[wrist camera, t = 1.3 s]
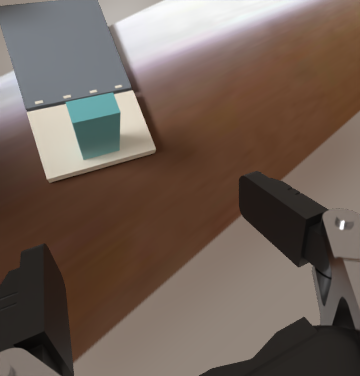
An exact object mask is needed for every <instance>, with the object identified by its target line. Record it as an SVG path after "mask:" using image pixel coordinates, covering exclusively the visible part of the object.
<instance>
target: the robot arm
mask: <svg viewBox="0 0 360 376" xmlns="http://www.w3.org/2000/svg"><path fill="white" fill-rule="evenodd" d="M239 208H240V211H241V214H242V215H243V217H244V218H245V219H246V220H247V221H248V222H249V223H250V224H251V225H252V226H253V227H255V228H256V229H257V230H258V231H259V232H260V233H261V234H263V236H264V237H266V238H267V239H268V240H269V241H270V242H271V243H272V244H273V245H274V246H275V247H277V248H278V249H279V250H280V251H281V252H282V253H283V254H284V255H285V256H286V257H288V258H289V259H290V260H291V261H292V262H293V263H294V264H295V265H296V266H297V267H301V266H303V265H305V264H307V263H311V264H312V265H313V267H312V274H313V279H314V285H315V290H316V295H317V300H318V305H319V310H320V325H317V326H312V325H311V324H310V323H309V322H308V320H307V319H306V318H305V317H303V318H301V319H299V320H298V321H296V322H294V323H293V324H290V325H289V326H287V327H285V328H283V329H282V330H280V331H278V332H277V333H276V334H275V335H274V336H273V337H272V338H271V339H270V340H269V341H268V342H267V343H266V344H265V345H264V347H263V348H262V349H261V350H260V351H259V352H258V353H257V354H256V355H255V356H254V357H253V358H252V359H250V360H246V361H242V362H238V363H233V364H229V365H224V366H220V367H216V368H212V369H210V370H208V371H207V372H205V373H203V374H201V375H199V376H360V214H359V213H356V212H354V211H351V210H348V209H340V208H338V209H331V210H328V209H327V208H325V207H323V206H322V205H320V204H318V203H317V202H315V201H313V200H312V199H310V198H309V197H307V196H305V195H304V194H302V193H301V194H300V192H299V191H297V190H296V189H293V188H292V187H291V186H289V185H288V184H286V183H284V182H283V181H279V180H276V179H273V178H268V177H267V176H265V175H264V174H262V173H261V172H259V171H255V172H252V173H249V174H246V175H243V176H241V177H240V179H239ZM0 376H74V371H73V360H72V350H71V340H70V330H69V319H68V309H67V299H66V289H65V284H64V280H63V277H62V275H61V272H60V270H59V268H58V266H57V264H56V262H55V260H54V258H53V256H52V254H51V252H50V250H49V248H48V247H47V245H46V244H45V243H44V244H41V245H38V246H36V247H33V248H30V249H27V250H24V251H22V252H21V259H20V268H17V269H14V270H11V271H9V272H8V274H7V276H6V277H5V279H4V280H3V282H2V284H1V285H0Z"/></svg>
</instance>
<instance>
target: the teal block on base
mask: <svg viewBox="0 0 360 376" xmlns="http://www.w3.org/2000/svg"><path fill="white" fill-rule="evenodd" d="M65 103H66V104H64V105H59V106H54V107H49V108H44V109H39V110H34V111H30V112H27V115H28V118H29V122H30V125H31V128H32V131H33V135H34V138H35V141H36V145H37V148H38V151H39V155H40V158H41V161H42V165H43V168H44V171H45V174H46V178H47V180H48V181H49V183H51V182H54V181H58V180H61V179H65V178H68V177H72V176H75V175H79V174H82V173H86V172H90V171H93V170H97V169H100V168H104V167H107V166H111V165H114V164H118V163H122V162H125V161H129V160H132V159H136V158H139V157H143V156H146V155H150V154H153V153H155V151H156V148H155V145H154V143H153V140H152V138H151V135H150V132H149V130H148V127H147V125H146V122H145V120H144V117H143V115H142V112H141V109H140V107H139V104H138V102H137V99H136V97H135V94H134V92H133V90H132V91H127V92H122V93H117V94H114V93H108V94H103V95H98V96H93V97H88V98H83V99H78V100H73V101H68V102H65Z"/></svg>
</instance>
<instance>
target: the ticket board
mask: <svg viewBox="0 0 360 376" xmlns="http://www.w3.org/2000/svg"><path fill="white" fill-rule="evenodd" d="M0 25H1V29H2V32H3V35H4V38H5V42H6V45H7V48H8V52H9V55H10V58H11V61H12V65H13V68H14V72H15V75H16V78H17V81H18V85H19V88H20V91H21V95H22V98H23V101H24V105H25V108H26V110H27V112H30V111H34V110H39V109H44V108H49V107H54V106H59V105H64V104H66V103H65V102H68V101H73V100H78V99H83V98H88V97H93V96H98V95H103V94H108V93H114V94H117V93H122V92H127V91H131V88H132V87H131V85H130V82H129V79H128V77H127V74H126V72H125V69H124V67H123V64H122V62H121V59H120V56H119V54H118V51H117V49H116V46H115V44H114V41H113V39H112V36H111V33H110V31H109V28H108V26H107V23H106V21H105V18H104V16H103V13H102V11H101V8H100V5H99V3H98V0H58V1H48V2H37V3H27V4H16V5H6V6H0Z"/></svg>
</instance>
